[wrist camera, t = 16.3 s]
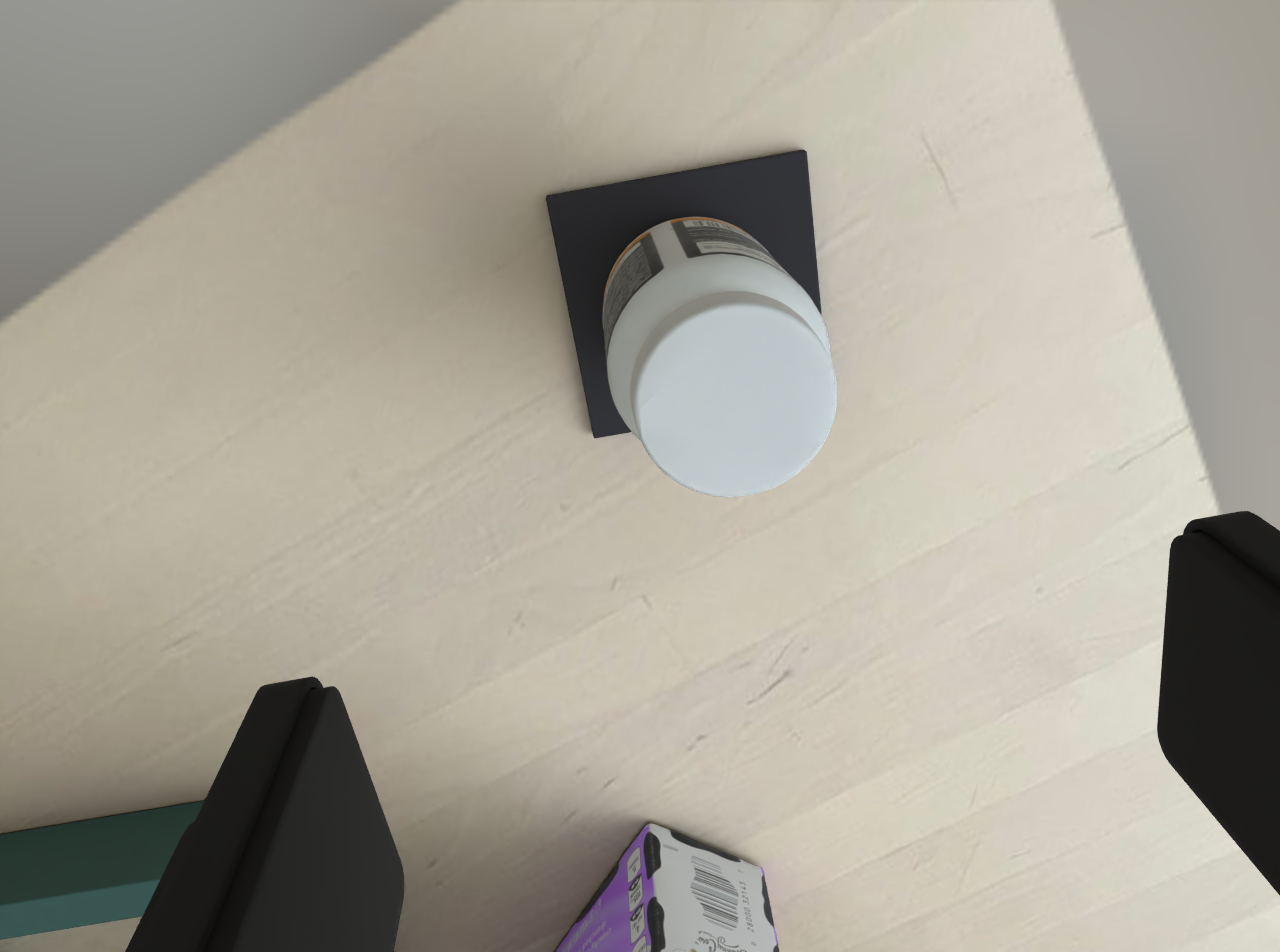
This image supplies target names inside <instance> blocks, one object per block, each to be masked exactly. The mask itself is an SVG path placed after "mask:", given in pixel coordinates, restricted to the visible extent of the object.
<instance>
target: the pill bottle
mask: <svg viewBox="0 0 1280 952" xmlns="http://www.w3.org/2000/svg"><path fill="white" fill-rule="evenodd" d="M603 329H604V340H605V354H606V364H607V374H608V381H609V387H610V391H611V395H612V398H613V401H614V403H615V406H616V408H617V410H618V412H619V414H620V415H621V417H622V418H623V420H624V422H625V424H626V425H627V426H628V428H629V429H630V430H631V431H632V432H633V434H634V435H635V436H636V437H637V438H638V439H639V440H640V441H641V442H642V444H643V446H644V448H645V449H646V451H647V453H648V454H649V456H650V457H651V459H652V460H653V461H654V463H655V464H656V465H657V466H658V467H659V468H660V469H661V470H662V471H663V472H664V473H665V474H666V475H668V476H669V477H670V478H672V479H673V480H675V481H676V482H678V483H679V484H681V485H683V486H685V487H687V488H689V489H691V490H694V491H696V492H699V493H703V494H707V495H712V496H720V497H739V496H747V495H752V494H756V493H760V492H763V491H766V490H769V489H772V488H774V487H777V486H778V485H780V484H782V483H784V482H786V481H787V480H789V479H790V478H792V477H793V476H795V475H796V474H797V473H799V472H800V471H801V470H802V469H803V468H804V467H806V466H807V464H808V463H809V462H810V461H811V460H812V459H813V458H814V456H815V455H816V454H817V453H818V452H819V450H820V448H821V447H822V445H823V443H824V442H825V440H826V438H827V436H828V434H829V432H830V429H831V427H832V424H833V421H834V417H835V412H836V405H837V381H836V376H835V371H834V368H833V365H832V362H831V353H830V344H829V337H828V333H827V330H826V326H825V323H824V320H823V318H822V316H821V314H820V312H819V311H818V309H817V307H816V306H815V304H814V303H813V301H812V299H811V298H810V296H809V295H808V294H807V293H806V291H805V290H804V289H803V288H802V286H800V285H799V284H798V283H797V282H796V281H795V280H794V279H793V278H792V277H791V276H790V275H789V274H788V273H787V272H786V271H785V270H784V269H783V268H782V267H781V266H780V265H779V264H778V262H777V261H776V260H775V259H774V258H773V257H772V256H771V255H770V254H769V252H768V251H767V250H766V249H765V248H764V247H763V246H762V245H761V244H760V243H759V242H758V241H757V240H755V239H754V238H753V237H752V236H750V235H749V234H748V233H746V232H745V231H743V230H741V229H740V228H738V227H736V226H734V225H732V224H730V223H727V222H724V221H721V220H717V219H713V218H707V217H685V218H679V219H674V220H669V221H666V222H663V223H661V224H658V225H656V226H654V227H652V228H650V229H649V230H647V231H645V232H644V233H642V234H641V235H639V236H638V237H637V238H636V239H635V240H634V241H633V242H631V243H630V244H629V245H628V247H627V248H626V249H625V250H624V251H623V253H622V254H621V255H620V257H619V258H618V259H617V261H616V262H615V264H614V266H613V268H612V270H611V272H610V275H609V278H608V281H607V284H606V289H605V293H604V300H603Z"/></svg>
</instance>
